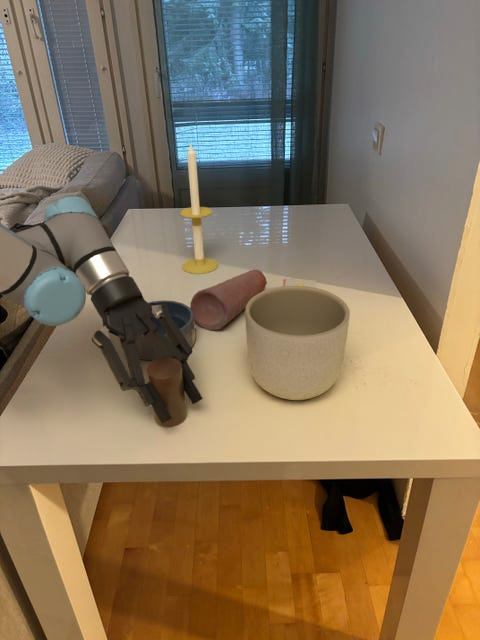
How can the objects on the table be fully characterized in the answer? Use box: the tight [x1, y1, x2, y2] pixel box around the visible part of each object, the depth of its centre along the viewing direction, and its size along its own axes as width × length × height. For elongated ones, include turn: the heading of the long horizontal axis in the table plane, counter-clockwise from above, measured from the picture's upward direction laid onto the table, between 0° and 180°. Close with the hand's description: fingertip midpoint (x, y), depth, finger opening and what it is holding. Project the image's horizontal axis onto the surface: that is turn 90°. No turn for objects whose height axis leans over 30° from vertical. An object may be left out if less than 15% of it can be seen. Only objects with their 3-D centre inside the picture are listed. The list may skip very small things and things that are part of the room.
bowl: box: [135, 299, 196, 361], centre depth 95 cm, size 14×14×6 cm
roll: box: [145, 357, 188, 428], centre depth 75 cm, size 6×6×10 cm
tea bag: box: [282, 278, 317, 288], centre depth 100 cm, size 4×7×10 cm, turn 79°
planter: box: [244, 285, 351, 401], centre depth 80 cm, size 17×17×15 cm
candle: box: [179, 141, 219, 275], centre depth 120 cm, size 10×10×32 cm
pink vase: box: [189, 269, 268, 331], centre depth 105 cm, size 21×9×9 cm, turn 151°
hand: (182, 410), depth 73 cm, fingers closed on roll, 5 cm apart
